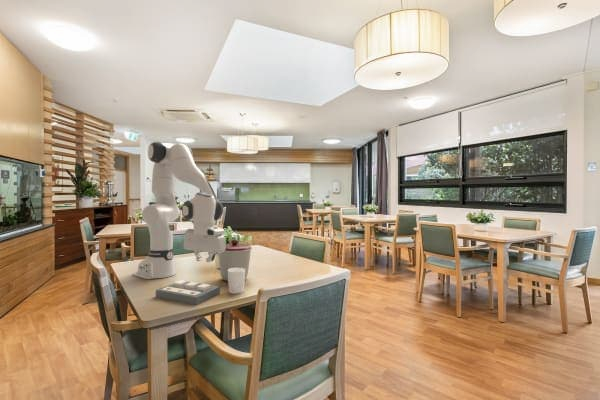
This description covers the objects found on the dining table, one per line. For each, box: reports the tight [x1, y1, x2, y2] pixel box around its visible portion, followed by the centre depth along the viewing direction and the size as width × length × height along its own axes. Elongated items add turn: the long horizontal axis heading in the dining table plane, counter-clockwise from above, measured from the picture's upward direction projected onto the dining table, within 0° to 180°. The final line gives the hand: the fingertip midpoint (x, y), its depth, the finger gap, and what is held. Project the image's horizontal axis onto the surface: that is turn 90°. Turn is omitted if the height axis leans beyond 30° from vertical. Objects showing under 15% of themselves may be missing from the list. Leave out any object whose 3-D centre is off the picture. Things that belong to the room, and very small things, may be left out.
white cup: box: [227, 268, 246, 295], centre depth 135 cm, size 8×8×10 cm
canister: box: [217, 238, 253, 282], centre depth 154 cm, size 18×18×21 cm
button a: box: [173, 279, 188, 287], centre depth 133 cm, size 4×4×2 cm
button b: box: [197, 283, 211, 291], centre depth 128 cm, size 4×4×2 cm
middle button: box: [185, 281, 200, 289], centre depth 130 cm, size 4×4×2 cm
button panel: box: [155, 281, 221, 306], centre depth 128 cm, size 22×15×3 cm
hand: (203, 261), depth 128 cm, fingers open, 4 cm apart
